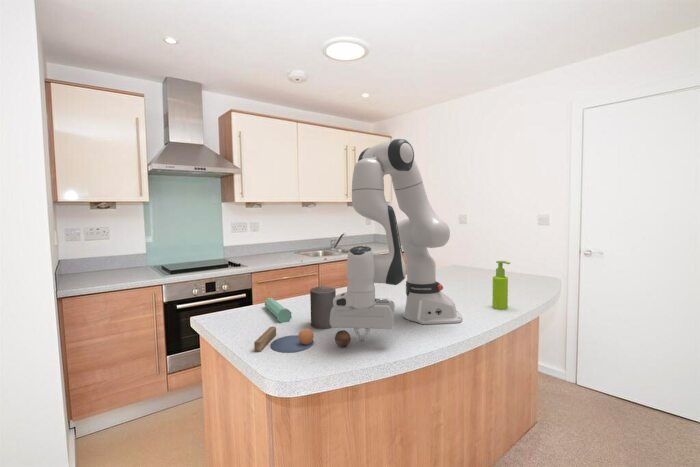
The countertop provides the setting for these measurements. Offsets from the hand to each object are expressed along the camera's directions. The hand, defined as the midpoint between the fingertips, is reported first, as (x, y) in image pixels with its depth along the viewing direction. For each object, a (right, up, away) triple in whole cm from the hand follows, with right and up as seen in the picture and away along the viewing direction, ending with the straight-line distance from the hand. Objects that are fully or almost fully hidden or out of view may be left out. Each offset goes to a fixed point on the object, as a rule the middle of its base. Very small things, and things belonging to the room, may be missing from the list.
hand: (362, 341), depth 112 cm
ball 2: (-6, +1, 0) cm, 6 cm away
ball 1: (-18, +1, +3) cm, 18 cm away
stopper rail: (-32, -2, +5) cm, 32 cm away
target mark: (-23, -2, +3) cm, 23 cm away
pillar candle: (-14, -1, +21) cm, 25 cm away
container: (-35, 0, +36) cm, 50 cm away
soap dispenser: (+60, +2, +37) cm, 71 cm away
